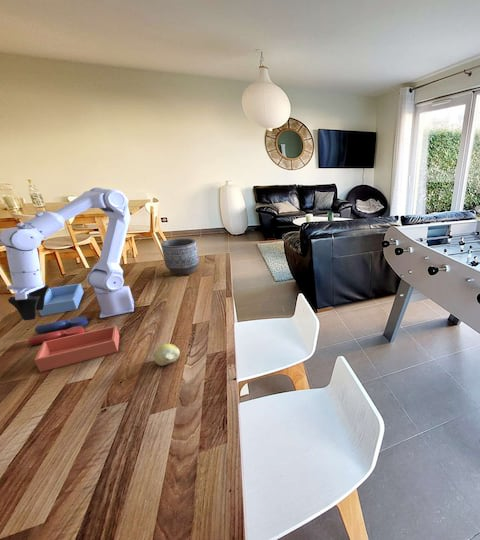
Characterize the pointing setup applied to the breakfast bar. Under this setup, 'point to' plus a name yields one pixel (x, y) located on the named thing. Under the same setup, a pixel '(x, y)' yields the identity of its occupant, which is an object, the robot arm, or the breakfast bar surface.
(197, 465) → the breakfast bar surface
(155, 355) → the fruit
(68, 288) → the blue bin
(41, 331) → the navy spoon
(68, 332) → the red spoon
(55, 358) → the red bin
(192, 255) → the planter
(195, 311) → the breakfast bar surface
